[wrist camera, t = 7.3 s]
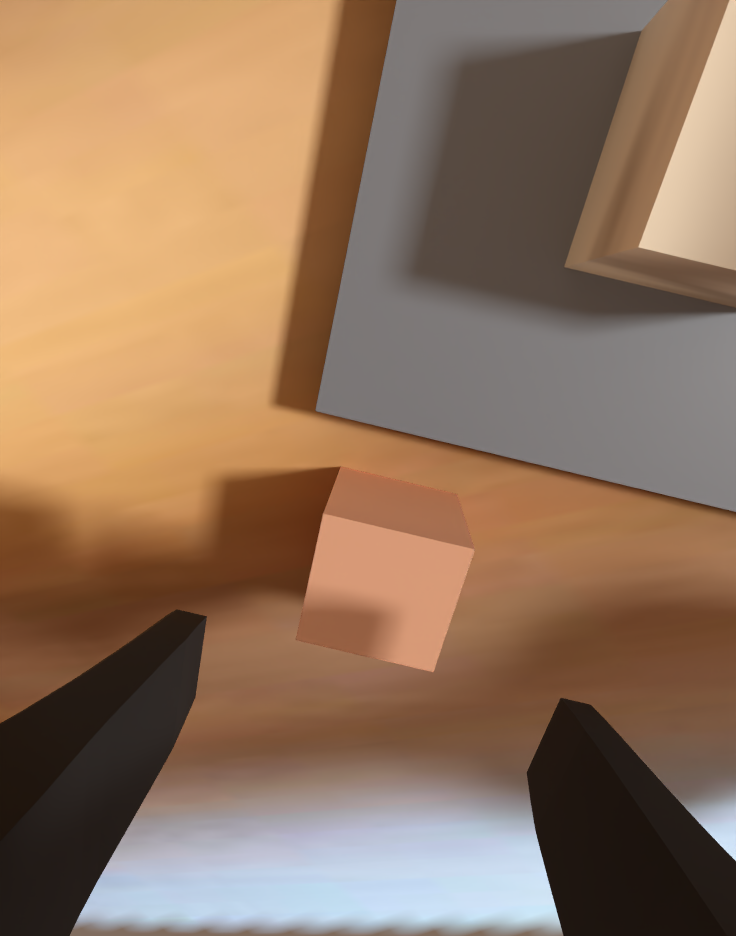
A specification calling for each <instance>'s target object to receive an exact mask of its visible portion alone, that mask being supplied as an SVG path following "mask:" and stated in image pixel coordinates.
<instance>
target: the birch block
mask: <svg viewBox="0 0 736 936" xmlns="http://www.w3.org/2000/svg"><path fill="white" fill-rule="evenodd" d="M564 267H566V268H570V269H574V270H579V271H583V272H587V273H591V274H595V275H600V276H604V277H608V278H612V279H617V280H621V281H625V282H629V283H633V284H638V285H642V286H646V287H650V288H655V289H659V290H663V291H667V292H671V293H676V294H680V295H684V296H688V297H693V298H697V299H701V300H705V301H709V302H714V303H718V304H722V305H726V306H731V307H735V308H736V0H668V1H667V2H666V3H665V4H664V5H663V7H662V8H661V9H660V10H659V11H658V12H657V14H656V15H655V16H654V17H653V18H652V19H651V20H650V22H649V23H648V24H647V25H646V26H645V27H644V29H643V30H642V31H641V34H640V37H639V40H638V43H637V46H636V49H635V52H634V55H633V58H632V61H631V64H630V67H629V71H628V74H627V77H626V80H625V83H624V86H623V89H622V92H621V95H620V98H619V101H618V104H617V107H616V110H615V113H614V116H613V119H612V122H611V125H610V129H609V132H608V135H607V138H606V141H605V144H604V147H603V150H602V153H601V156H600V159H599V162H598V165H597V168H596V171H595V174H594V177H593V180H592V183H591V187H590V190H589V193H588V196H587V199H586V202H585V205H584V208H583V211H582V214H581V217H580V220H579V223H578V226H577V229H576V232H575V235H574V238H573V241H572V245H571V248H570V251H569V254H568V257H567V260H566V263H565V266H564Z"/></svg>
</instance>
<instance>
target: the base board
mask: <svg viewBox="0 0 736 936" xmlns="http://www.w3.org/2000/svg"><path fill="white" fill-rule="evenodd" d="M667 1H668V0H397V1H396V6H395V11H394V16H393V21H392V26H391V31H390V36H389V41H388V46H387V51H386V56H385V61H384V67H383V72H382V77H381V82H380V87H379V92H378V97H377V102H376V107H375V112H374V117H373V122H372V127H371V132H370V137H369V142H368V147H367V153H366V158H365V163H364V168H363V173H362V178H361V183H360V188H359V193H358V198H357V203H356V208H355V213H354V218H353V223H352V228H351V233H350V238H349V244H348V249H347V254H346V259H345V264H344V269H343V274H342V279H341V284H340V289H339V294H338V299H337V304H336V309H335V314H334V319H333V324H332V330H331V335H330V340H329V345H328V350H327V355H326V360H325V365H324V370H323V375H322V380H321V385H320V390H319V395H318V400H317V405H316V410H315V411H317V412H321V413H326V414H330V415H334V416H338V417H342V418H346V419H351V420H355V421H359V422H363V423H367V424H371V425H376V426H380V427H384V428H388V429H392V430H397V431H401V432H405V433H409V434H413V435H417V436H422V437H426V438H430V439H434V440H438V441H442V442H447V443H451V444H455V445H459V446H463V447H467V448H472V449H476V450H480V451H484V452H488V453H493V454H497V455H501V456H505V457H509V458H513V459H518V460H522V461H526V462H530V463H534V464H538V465H543V466H547V467H551V468H555V469H559V470H563V471H568V472H572V473H576V474H580V475H584V476H588V477H593V478H597V479H601V480H605V481H609V482H614V483H618V484H622V485H626V486H630V487H634V488H639V489H643V490H647V491H651V492H655V493H659V494H664V495H668V496H672V497H676V498H680V499H684V500H689V501H693V502H697V503H701V504H705V505H710V506H714V507H718V508H722V509H726V510H730V511H735V512H736V308H735V307H731V306H726V305H722V304H718V303H714V302H709V301H705V300H701V299H697V298H693V297H688V296H684V295H680V294H676V293H671V292H667V291H663V290H659V289H655V288H650V287H646V286H642V285H638V284H633V283H629V282H625V281H621V280H617V279H612V278H608V277H604V276H600V275H595V274H591V273H587V272H583V271H579V270H574V269H570V268H566V267H564V266H565V263H566V260H567V257H568V254H569V251H570V248H571V245H572V241H573V238H574V235H575V232H576V229H577V226H578V223H579V220H580V217H581V214H582V211H583V208H584V205H585V202H586V199H587V196H588V193H589V190H590V187H591V183H592V180H593V177H594V174H595V171H596V168H597V165H598V162H599V159H600V156H601V153H602V150H603V147H604V144H605V141H606V138H607V135H608V132H609V129H610V125H611V122H612V119H613V116H614V113H615V110H616V107H617V104H618V101H619V98H620V95H621V92H622V89H623V86H624V83H625V80H626V77H627V74H628V71H629V67H630V64H631V61H632V58H633V55H634V52H635V49H636V46H637V43H638V40H639V37H640V34H641V31H642V30H643V29H644V27H645V26H646V25H647V24H648V23H649V22H650V20H651V19H652V18H653V17H654V16H655V15H656V14H657V12H658V11H659V10H660V9H661V8H662V7H663V5H664V4H665V3H666V2H667Z"/></svg>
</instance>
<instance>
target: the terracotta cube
mask: <svg viewBox="0 0 736 936" xmlns="http://www.w3.org/2000/svg"><path fill="white" fill-rule="evenodd" d="M474 551H475V548H474V545H473V542H472V539H471V535H470V532H469V529H468V526H467V523H466V520H465V517H464V514H463V511H462V507H461V504H460V501H459V498H458V495H457V494H454V493H450V492H446V491H442V490H438V489H433V488H429V487H425V486H421V485H417V484H412V483H408V482H404V481H400V480H396V479H391V478H387V477H383V476H379V475H375V474H370V473H366V472H362V471H358V470H353V469H349V468H345V467H340V470H339V473H338V475H337V478H336V481H335V483H334V486H333V489H332V491H331V494H330V497H329V500H328V502H327V505H326V508H325V510H324V513H323V517H322V522H321V526H320V531H319V535H318V540H317V545H316V549H315V554H314V558H313V563H312V568H311V572H310V577H309V581H308V586H307V590H306V595H305V600H304V604H303V609H302V613H301V618H300V623H299V627H298V632H297V636H296V640H298V641H302V642H306V643H310V644H315V645H319V646H323V647H328V648H332V649H336V650H341V651H345V652H349V653H353V654H358V655H362V656H366V657H371V658H375V659H379V660H384V661H388V662H392V663H396V664H401V665H405V666H409V667H414V668H418V669H422V670H426V671H431V672H434V669H435V666H436V663H437V660H438V657H439V654H440V651H441V648H442V645H443V642H444V639H445V636H446V633H447V630H448V628H449V625H450V622H451V619H452V616H453V613H454V610H455V607H456V604H457V601H458V598H459V595H460V592H461V589H462V586H463V583H464V580H465V577H466V574H467V572H468V569H469V566H470V563H471V560H472V557H473V554H474Z"/></svg>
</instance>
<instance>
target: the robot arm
mask: <svg viewBox="0 0 736 936" xmlns="http://www.w3.org/2000/svg"><path fill="white" fill-rule="evenodd" d="M206 619H207V616H203V615H198V614H194V613H190V612H185V611H181V610H175V611H173V612H171V613H170V614H168V615H167V616H165V617H164V618H163V619H161V620H160V621H158V622H157V623H156V624H154V625H153V626H151V627H150V628H149V629H147V630H146V631H144V632H143V633H142V634H140V635H139V636H137V637H136V638H135V639H133V640H132V641H130V642H129V643H127V644H126V645H124V646H123V647H122V648H120V649H119V650H117V651H116V652H114V653H113V654H111V655H110V656H108V657H107V658H105V659H104V660H102V661H101V662H99V663H98V664H96V665H95V666H93V667H92V668H90V669H89V670H87V671H86V672H84V673H83V674H81V675H80V676H78V677H77V678H75V679H74V680H72V681H70V682H69V683H67V684H66V685H64V686H62V687H61V688H59V689H57V690H56V691H54V692H52V693H51V694H49V695H48V696H46V697H44V698H43V699H41V700H39V701H38V702H36V703H34V704H33V705H31V706H29V707H28V708H26V709H24V710H23V711H21V712H19V713H18V714H16V715H14V716H13V717H11V718H9V719H7V720H5V721H4V722H2V723H0V936H70V934H71V932H72V929H73V927H74V925H75V923H76V921H77V919H78V917H79V915H80V913H81V911H82V909H83V907H84V906H85V904H86V902H87V900H88V898H89V896H90V894H91V892H92V890H93V889H94V887H95V885H96V883H97V881H98V879H99V878H100V876H101V874H102V872H103V871H104V869H105V867H106V865H107V864H108V862H109V860H110V858H111V857H112V855H113V853H114V851H115V849H116V848H117V846H118V844H119V842H120V841H121V839H122V837H123V835H124V834H125V832H126V830H127V828H128V827H129V825H130V823H131V821H132V820H133V818H134V816H135V814H136V813H137V811H138V809H139V807H140V806H141V804H142V802H143V800H144V799H145V797H146V795H147V793H148V792H149V790H150V788H151V786H152V785H153V783H154V781H155V779H156V778H157V776H158V774H159V772H160V770H161V769H162V767H163V765H164V763H165V762H166V760H167V758H168V756H169V754H170V753H171V751H172V749H173V747H174V744H175V742H176V740H177V738H178V735H179V733H180V731H181V729H182V727H183V724H184V722H185V720H186V717H187V715H188V713H189V710H190V708H191V706H192V703H193V701H194V699H195V695H196V688H197V681H198V674H199V667H200V660H201V653H202V646H203V639H204V633H205V626H206ZM527 778H528V785H529V792H530V799H531V806H532V812H533V818H534V824H535V830H536V834H537V838H538V842H539V846H540V850H541V854H542V858H543V861H544V865H545V869H546V873H547V877H548V880H549V884H550V888H551V891H552V895H553V899H554V902H555V906H556V910H557V913H558V917H559V921H560V924H561V928H562V932H563V935H564V936H736V861H735V860H734V859H733V858H732V857H731V856H730V855H729V854H728V853H727V852H726V851H725V850H724V849H723V848H722V847H721V846H720V845H719V844H718V843H717V842H716V840H715V839H714V838H713V837H712V836H711V835H710V834H709V833H708V832H707V831H706V830H705V829H704V828H703V827H702V826H701V825H700V824H699V822H698V821H697V820H696V819H695V818H694V817H693V816H692V815H691V814H690V813H689V812H688V811H687V810H686V808H685V807H684V806H683V805H682V804H681V803H680V802H679V801H678V800H677V799H676V798H675V796H674V795H673V794H672V793H671V792H670V791H669V790H668V789H667V788H666V787H665V785H664V784H663V783H662V782H661V781H660V780H659V779H658V778H657V777H656V775H655V774H654V773H653V772H652V771H651V770H650V769H649V768H648V767H647V765H646V764H645V763H644V762H643V761H642V760H641V759H640V758H639V756H638V755H637V754H636V753H635V752H634V751H633V750H632V749H631V748H630V746H629V745H628V744H627V743H626V742H625V741H624V740H623V739H622V738H621V736H620V735H619V734H618V733H617V732H616V731H615V730H614V729H613V728H612V727H611V726H610V724H609V723H608V722H607V721H606V720H605V719H604V718H603V717H602V716H601V715H600V714H599V713H598V712H597V711H596V710H595V709H594V708H593V707H592V706H591V705H589V704H585V703H581V702H576V701H572V700H568V699H563V698H561V699H560V701H559V703H558V705H557V707H556V710H555V712H554V714H553V716H552V718H551V721H550V723H549V725H548V727H547V729H546V731H545V734H544V736H543V738H542V740H541V742H540V745H539V747H538V749H537V751H536V753H535V756H534V758H533V760H532V762H531V764H530V767H529V769H528V771H527Z"/></svg>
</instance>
